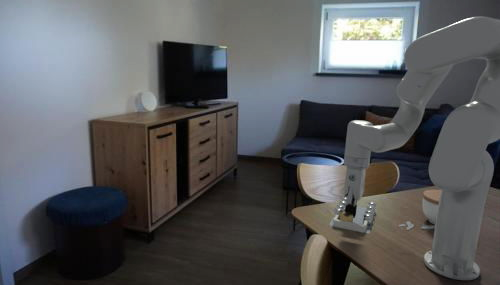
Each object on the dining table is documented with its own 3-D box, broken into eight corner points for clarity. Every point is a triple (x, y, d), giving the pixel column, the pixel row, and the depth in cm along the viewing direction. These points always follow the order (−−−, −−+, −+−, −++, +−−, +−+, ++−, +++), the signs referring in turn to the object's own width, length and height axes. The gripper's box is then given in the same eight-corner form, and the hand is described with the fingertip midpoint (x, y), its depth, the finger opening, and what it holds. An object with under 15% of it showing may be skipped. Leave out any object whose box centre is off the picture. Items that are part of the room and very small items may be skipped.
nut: (351, 227, 111) (352, 219, 110) (338, 225, 112) (338, 217, 111) (353, 221, 114) (353, 212, 113) (340, 218, 115) (340, 210, 114)
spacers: (370, 226, 112) (371, 217, 112) (333, 218, 117) (334, 210, 116) (375, 210, 124) (376, 202, 124) (341, 204, 129) (342, 196, 128)
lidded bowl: (469, 233, 112) (475, 199, 109) (426, 228, 114) (431, 195, 111) (454, 216, 124) (459, 185, 122) (415, 212, 126) (419, 182, 124)
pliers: (442, 221, 117) (417, 234, 108) (441, 226, 117) (417, 238, 108) (412, 211, 124) (387, 222, 115) (412, 215, 125) (387, 226, 116)
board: (368, 236, 107) (369, 227, 107) (328, 228, 112) (329, 219, 112) (376, 212, 125) (377, 204, 125) (341, 206, 130) (342, 198, 129)
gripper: (365, 169, 103) (358, 228, 107) (372, 157, 116) (365, 210, 121) (339, 165, 106) (332, 222, 111) (348, 153, 119) (342, 205, 124)
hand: (350, 216), depth 116 cm, fingers closed
